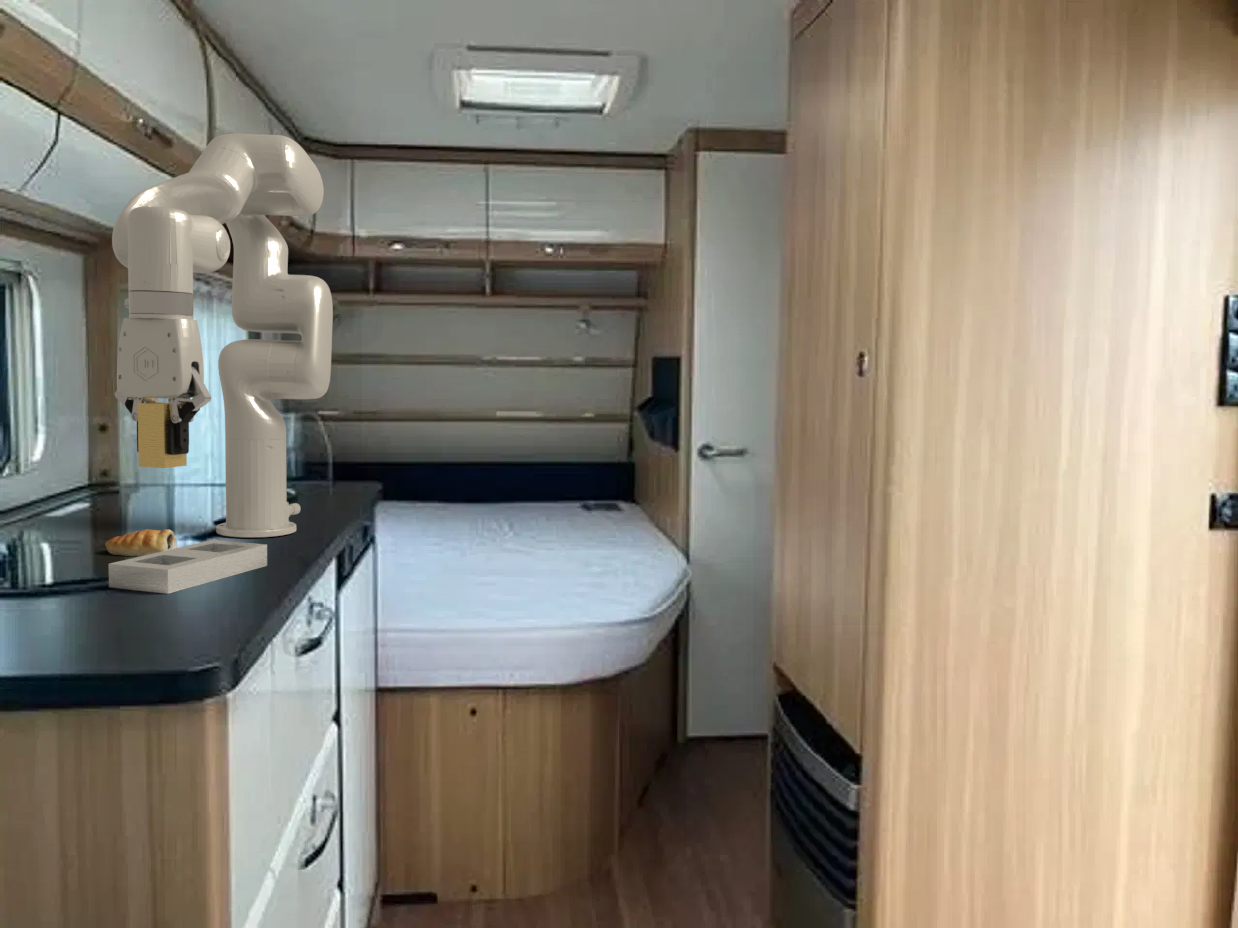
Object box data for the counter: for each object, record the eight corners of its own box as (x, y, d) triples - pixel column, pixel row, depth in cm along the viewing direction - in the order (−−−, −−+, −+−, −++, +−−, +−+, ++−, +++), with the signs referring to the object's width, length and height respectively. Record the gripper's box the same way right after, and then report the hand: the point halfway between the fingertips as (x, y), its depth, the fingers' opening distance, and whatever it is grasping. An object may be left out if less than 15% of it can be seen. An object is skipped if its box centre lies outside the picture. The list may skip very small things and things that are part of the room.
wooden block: (160, 463, 143) (160, 402, 142) (186, 465, 142) (185, 403, 141) (138, 466, 139) (137, 403, 139) (164, 468, 138) (163, 404, 137)
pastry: (98, 558, 159) (98, 532, 159) (115, 550, 166) (114, 525, 165) (166, 558, 160) (166, 532, 160) (180, 550, 167) (179, 525, 166)
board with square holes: (213, 560, 158) (213, 539, 158) (267, 565, 155) (267, 544, 155) (108, 587, 139) (108, 563, 139) (168, 593, 136) (167, 569, 136)
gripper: (85, 305, 138) (87, 452, 140) (196, 306, 133) (198, 458, 134) (129, 309, 145) (131, 448, 147) (236, 310, 140) (237, 454, 142)
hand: (163, 451), depth 141 cm, fingers closed on wooden block, 4 cm apart
